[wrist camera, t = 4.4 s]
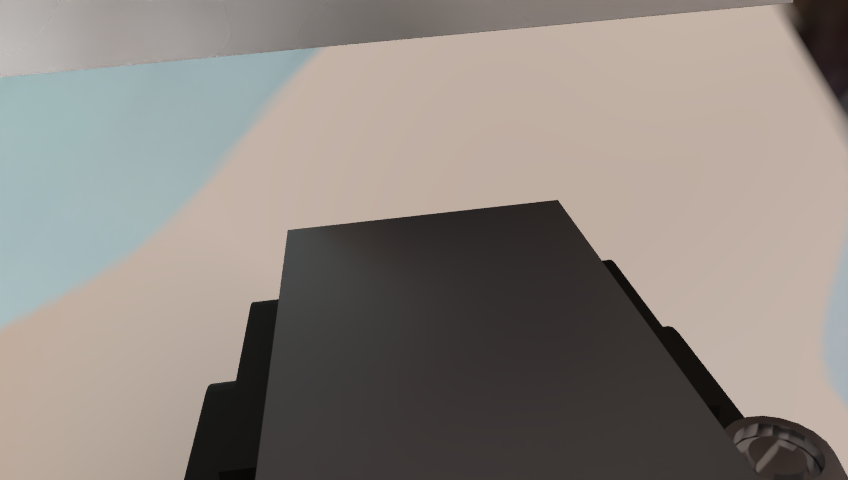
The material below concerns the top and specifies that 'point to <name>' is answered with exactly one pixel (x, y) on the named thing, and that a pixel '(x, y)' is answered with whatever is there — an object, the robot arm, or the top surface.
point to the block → (474, 360)
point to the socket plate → (272, 25)
